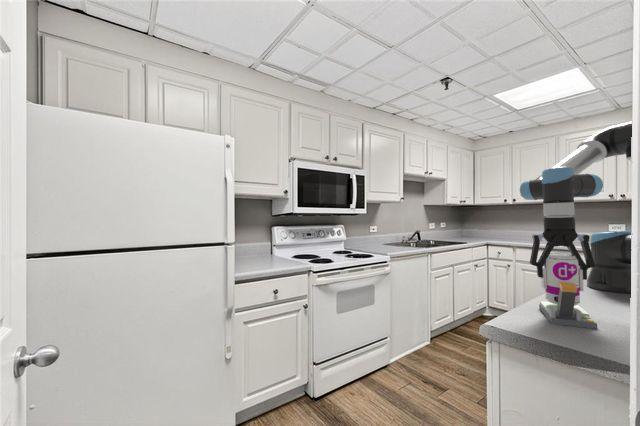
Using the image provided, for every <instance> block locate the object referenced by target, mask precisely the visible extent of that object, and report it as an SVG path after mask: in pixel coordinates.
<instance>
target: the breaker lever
mask: <svg viewBox="0 0 640 426" xmlns="http://www.w3.org/2000/svg"><path fill="white" fill-rule="evenodd" d="M559 287H560V291H559V299H558V307H557V312H556V311H555V316H562V317H574V318H575V314H574V313H573V310H574V303H575V296H576V293H577V287H576V285H575V283H562V282H560V286H559Z"/></svg>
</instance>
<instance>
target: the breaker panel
mask: <svg viewBox="0 0 640 426" xmlns="http://www.w3.org/2000/svg"><path fill="white" fill-rule="evenodd" d="M538 307H539V308H538V309H539V310H540V311H541V312H542V314H543V315H544V316H545V318H547V320H548V321H549V322H550V324H552V325H557V326H558V325H560V326H567V327H568V326H569V327H577V328H586V329H587V328H588V329H596V330H598V323H597V321H595V320H594V319H593V318H592V317H590V313H589V312H587V311H586V310H585V309H583V308H582V307H581V306H580V305H579V304H578V305H576V306H574V310H573V313H574V314H575V318H574V317H562V316H555V311H556V312H557V307H558V305H557V304H553V303H551V302H549V301H542V300H540V301H539V304H538Z"/></svg>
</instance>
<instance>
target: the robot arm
mask: <svg viewBox="0 0 640 426" xmlns="http://www.w3.org/2000/svg"><path fill="white" fill-rule="evenodd" d="M632 121H633V120H631V121H628V122H623V123H620V124H615V125H611V126H609V127H606V128H604V129H602V130H600V131H598V132H596V133H595V134H593V135H591V136H589V137H588V138H586V139H585V140H584V141H582V142H581V143H579V144H578V145H577V147H576V149H575V150H574V151H573V152H571V153H570V154H569V155H567V156H566V157H565V158H563V159H562V160H561V161H559V162H558V163H556V164H555V165H553V166H552V167H550V168H546V169H544V170H542V174H541V175H540V176H538V177H537V178H534V179H529V180H525V181H523V182H522V183H521V185H520V187H519V194H520V195H521V197H522V198H523V199H524V200H528V201H537V200H539V201H541V200H542V203H543V204H542V206H543V207H542V209H543V217H544V218H543V232H542V233H540V234H532V237H531V238H532V241H533V242H532V248H531V253H530V259H529V264H530V265H531V266H534V267H536V274H537V277H538V278H539V279H541V282H540V283H541V287H542V288H543V289H544V290H545V289H547V279H546V268H545V267H544V264H545V262H546V259H547V258H548V256H549V254H550V253H552V251H553V249H554V248H555V247H564V248H565V247H566V248H567V249H568V250H569V252H570V254H572V255H573V256H575V257H576V258H577V260H578V266H579V289H580V292H584V281H586V286H587V287H589V288H591V289H595V290H600V291H607V292H613V293H623V294H624V293H625V294H628V293H629V294H632V293H631V232H632V231H631V230H616V231H603V232H593V233H592V234H591V235H588V234H586V233H585V234H579V233H577V231H576V218H575V217H574V216H575V215H576V211H575V198H590V197H591V198H592V197H594V196H597V195H599V194H600V192H601V191H602V190H603V188H604V181H603V180H602V178H601V177H600V176H598V175H597V174H590V173H582V172H583V171H585V170H587V168H589V167H590V166H592V165H593V164H594V163H599V162H601V161H603V160H605V159H606V158H610V157H615V156H616V157H617V156H622V155H625V157H626V160H628V161H630V162H632V161H631V137H632ZM543 239H544V240H545V241H546V242H547V243H546V244H545V247H544V249H543V251H542V253H541V255H540V257H539V258H538V256H539V251H540V245H541V242H542V240H543ZM576 239H577V240H578V241H579V242H580V246H581V249H582V254H583V257H584V260H585V261H584V260H583V257H582V256H581V255H580V253H579V251H578V249H577V248H576V245H575V244H574V243H573V242H575V240H576ZM589 269H590V272H589V274H588V270H589ZM626 292H627V293H626Z"/></svg>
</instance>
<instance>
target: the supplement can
mask: <svg viewBox="0 0 640 426" xmlns="http://www.w3.org/2000/svg"><path fill="white" fill-rule="evenodd" d="M543 267H545V268H546V279H547V289H544V290H545V299H546V300H547V302H551V303H553V304H557V305H558V299H559V291H560V287H559V286H560V282H562V283H575V285H576V287H577V293H576V296H575V303H574V306H576V305H578V306H579V304H581V293H580V292H581V291H580V289H579V268H580V267H579V265H578V260H577V258H576V257H575V256H573V255H572V254H571V253H561V252H558V253H557V252H550V254H549V256H548V258H547V259H546V262H545V264H544V266H543Z"/></svg>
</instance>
